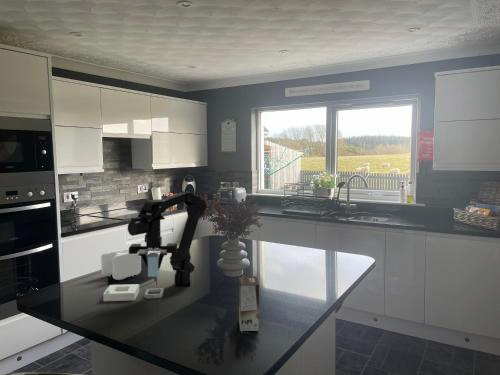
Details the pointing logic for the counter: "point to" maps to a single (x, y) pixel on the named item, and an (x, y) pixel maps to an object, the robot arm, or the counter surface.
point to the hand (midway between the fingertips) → (153, 269)
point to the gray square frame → (159, 290)
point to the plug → (153, 265)
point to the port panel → (121, 292)
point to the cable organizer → (120, 264)
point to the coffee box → (249, 303)
